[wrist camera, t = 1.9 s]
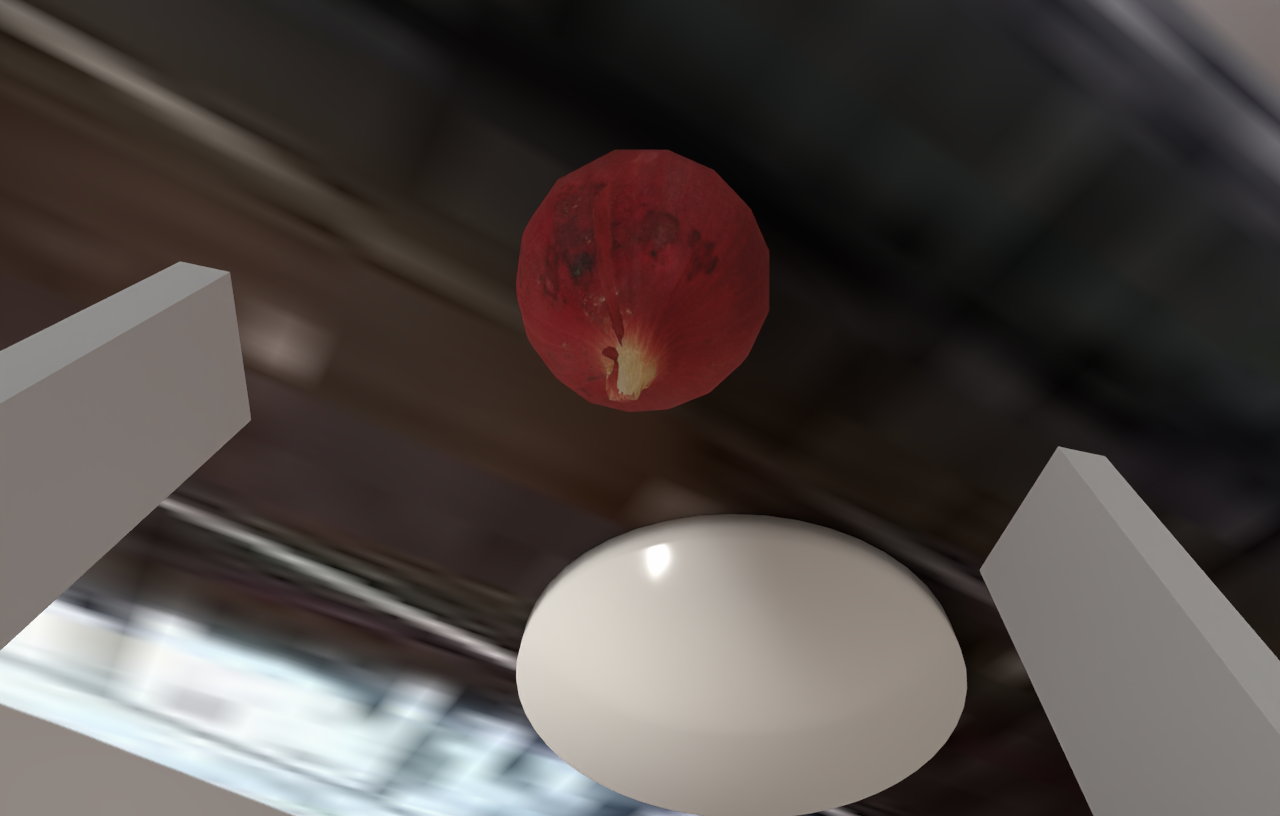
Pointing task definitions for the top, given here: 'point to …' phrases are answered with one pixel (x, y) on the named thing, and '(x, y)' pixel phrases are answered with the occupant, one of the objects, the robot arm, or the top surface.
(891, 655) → the plate
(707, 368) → the onion
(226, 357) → the robot arm
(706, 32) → the top surface
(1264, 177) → the top surface
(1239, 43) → the top surface
